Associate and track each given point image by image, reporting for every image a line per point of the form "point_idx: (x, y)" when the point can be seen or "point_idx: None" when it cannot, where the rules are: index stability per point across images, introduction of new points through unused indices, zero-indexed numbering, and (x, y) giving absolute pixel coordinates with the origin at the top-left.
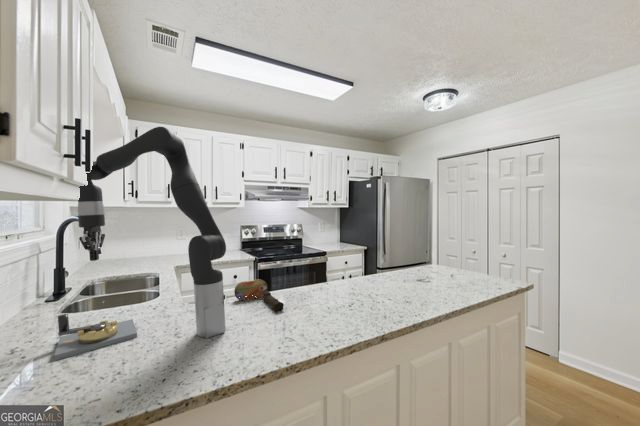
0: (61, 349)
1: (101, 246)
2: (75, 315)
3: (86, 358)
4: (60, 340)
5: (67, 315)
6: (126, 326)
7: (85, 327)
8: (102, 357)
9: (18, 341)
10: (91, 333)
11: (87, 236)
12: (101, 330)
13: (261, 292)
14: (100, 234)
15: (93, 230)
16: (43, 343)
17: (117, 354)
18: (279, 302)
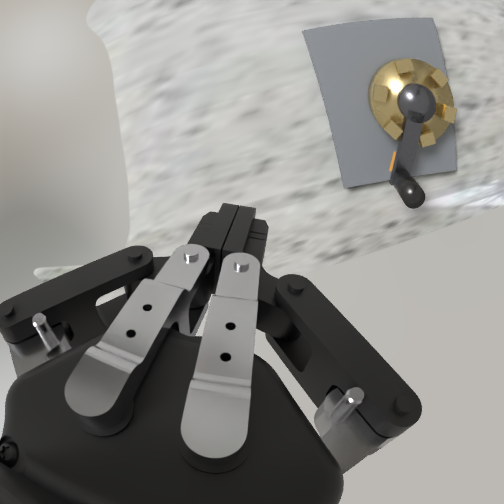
0: (434, 163)
1: (131, 250)
2: (147, 214)
3: (479, 112)
4: (372, 180)
5: (418, 186)
6: (367, 39)
7: (411, 132)
8: (491, 86)
9: (281, 265)
10: (455, 113)
11: (351, 436)
12: (434, 92)
13: None
14: (111, 369)
15: (223, 494)
16: (331, 215)
17: (493, 62)
18: None
